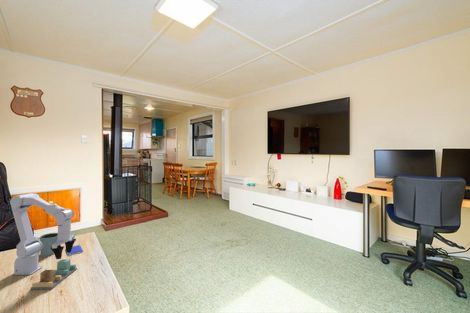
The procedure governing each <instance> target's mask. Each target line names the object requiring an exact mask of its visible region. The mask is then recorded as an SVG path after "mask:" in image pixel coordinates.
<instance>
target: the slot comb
mask: <svg viewBox="0 0 470 313" xmlns="http://www.w3.org/2000/svg"><path fill="white" fill-rule="evenodd" d="M55 270H56V272H55V282H54V283H53V282H40V281H34V282H32V285H31V287H30V290H31V291H34V290H35V291H36V290H39V291H40V290H41V291H42V290H53V289H54V288H56V287H57V286H58V285H60V284H61V283H62V282H63V281H64V280H65V279H67V278H68V277H69V276H70V275H72V274H73V273H74V272H77V270H78V268H77V264H70V270H57V269H55Z"/></svg>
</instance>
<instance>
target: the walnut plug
mask: <svg viewBox="0 0 470 313" xmlns="http://www.w3.org/2000/svg"><path fill="white" fill-rule="evenodd" d="M56 270H57V269H44V270H43V271H41V272H40V273H39V274H40V275H39V277H40V279H39V282H53V283H54V282H55V272H56Z"/></svg>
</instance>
